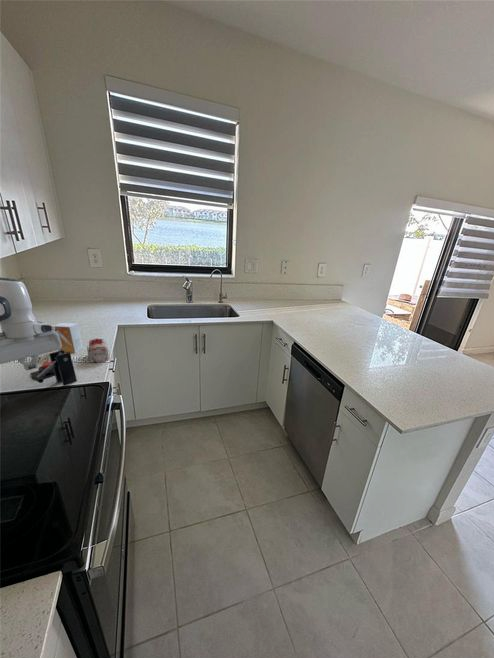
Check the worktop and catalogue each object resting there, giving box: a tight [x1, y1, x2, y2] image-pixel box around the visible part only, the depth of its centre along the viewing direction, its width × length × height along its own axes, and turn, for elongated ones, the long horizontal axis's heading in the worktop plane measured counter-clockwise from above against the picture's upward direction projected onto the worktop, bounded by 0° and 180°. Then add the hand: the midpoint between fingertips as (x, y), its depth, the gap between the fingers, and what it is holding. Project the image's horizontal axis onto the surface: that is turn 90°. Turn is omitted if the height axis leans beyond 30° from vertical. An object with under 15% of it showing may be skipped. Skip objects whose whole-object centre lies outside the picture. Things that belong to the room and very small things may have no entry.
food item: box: [86, 338, 110, 364], centre depth 129 cm, size 14×8×10 cm, turn 32°
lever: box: [30, 352, 63, 384], centre depth 101 cm, size 12×5×2 cm, turn 154°
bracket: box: [48, 350, 78, 386], centre depth 106 cm, size 12×9×13 cm
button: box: [41, 361, 52, 369], centre depth 113 cm, size 4×4×2 cm
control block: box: [30, 365, 55, 380], centre depth 114 cm, size 10×8×4 cm
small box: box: [53, 322, 84, 354], centre depth 138 cm, size 8×6×13 cm
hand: (31, 368), depth 98 cm, fingers closed
